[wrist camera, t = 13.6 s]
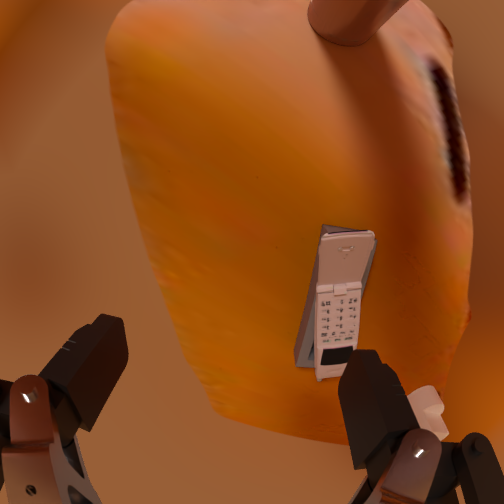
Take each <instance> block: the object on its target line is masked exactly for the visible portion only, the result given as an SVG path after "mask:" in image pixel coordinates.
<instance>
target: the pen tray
mask: <svg viewBox="0 0 504 504" xmlns="http://www.w3.org/2000/svg"><path fill="white" fill-rule="evenodd" d="M340 231H355V229H349V228H343V227H337V226H330V225H324V224H322V229H321V235H320V240H319V245H321V238H322V236H323V235H324V234H326V233H331V232H340ZM374 241H375V243H374V247H373V249H372V250H371V252H370V256H369V259H368V262H367V265H366V268H365V271H364V274H363V277H362V280H361V284H362V288H361V298H362V294H363V291H364V288H365V285H366V281H367V278H368V274H369V271H370V267H371V264H372V260H373V256H374V252H375V248H376V244H377V240H376V239H375V238H374ZM319 245H318V250H317V255H316V259H315V264H314V269H313V273H312V278H311V283H310V287H309V291H308V296H307V300H306V304H305V308H304V312H303V317H302V321H301V325H300V328H299V332H298V336H297V340H296V344H295V348H294V356H295V365H296V367H311V368H315V366H314V327H315V301H316V284H317V282H318V272H319V255H320V254H318V252H319Z"/></svg>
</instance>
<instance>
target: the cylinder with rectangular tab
mask: <svg viewBox="0 0 504 504" xmlns="http://www.w3.org/2000/svg"><path fill="white" fill-rule="evenodd" d="M407 398H408V400H409V402H410V405H411V407H412V409H413V412H414V414H415V416H416V419H417V421H418V423H419V426H420V428H422V429H427V430H429V431H431V432H433V433H434V434H435V435H436V436H437V437H438V438H439V440H440V441H441V440H442V439H443V438H445V437H446V436H447V435H448V434H449V432H448V430H447V428H446V426H445V424H444V422H443V419H442V417H441V414H442V412H443V410H444V405H443V403H442V401H441V399H440V397H439V395H438V393H437V391H436V390H435V388H434V387H433V386H430V385H428V386H423V387H421V388H419V389H417V390H415V391H413V392H412V393H411V394H409V395H408V396H407Z"/></svg>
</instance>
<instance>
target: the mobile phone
mask: <svg viewBox="0 0 504 504" xmlns="http://www.w3.org/2000/svg"><path fill="white" fill-rule="evenodd" d="M374 237H375V234H374V232H372V231H370V230H355V231H340V232H331V233H326V234H324V235H323V236H322V238H321V245H319V252H318V254H320V255H319V272H318V282H317V284H316V301H315V327H314V366H315V374H316V377H317V381H322V378H329V377H337V376H342V374H343V372H344V369H345V367H346V365H347V362H348V360H349V358H350V355H351V353H352V351H353V350H355V349H356V348H357V341H358V332H359V321H360V304H361V288H362V284H361V280H362V277H363V274H364V271H365V268H366V265H367V262H368V259H369V256H370V252H371V250H372V249H373V247H374V243H375V241H374Z"/></svg>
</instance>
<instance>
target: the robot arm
mask: <svg viewBox="0 0 504 504" xmlns="http://www.w3.org/2000/svg"><path fill="white" fill-rule="evenodd" d="M407 1H409V0H311V1H310V4H309V8H308V14H307V15H308V20H309V22H310V24H311V26H312V27H313V29H314V30H315V31H316V32H317V33H318V34H319V35H320V36H322V37H323V38H325V39H326V40H328V41H331V42H333V43H336V44H339V45H344V46H356V45H360V44H362V43H364V42H366V41H367V40H368V39H369V38H370V37H371V36H372V35H373V34H374V33H375V32H376V31H377V30H378V29H379V28H380V27H381V26H382V25H383V24H384V23H385V22H386V21H388V20H389V19H390V18H391V17H392V16H393V15H394V14H395V13H396V12H397V11H398V10H399V9H400V8H401V7H402V6H403V5H404V4H405V3H406V2H407ZM128 354H129V353H128V346H127V341H126V335H125V329H124V323H123V320H122V319H121V318H119V317H115V316H111V315H106V314H100V315H99V316H98V317H97V318H96V320H95V321H94V322H93V323H92V324H91V325H90V324H87V325H85V326H83V327H81V328H80V329H78V330H76V331H75V332H74V334H73V335H72V336H71V337H70V338H69V341H67V342H66V343H65V344H64V345H63V346H62V348H61V349H60V350H59V351H58V352H57V353H56V354H55V356H54V357H53V358H52V359H51V360H50V361H49V363H48V364H47V365H46V366H45V367H44V369H43V370H42V371H41V372H40V374H39V375H38V376H37V375H24V376H22V377H20V378H18V379H17V380H16V381H15V382H10V381H6V380H1V379H0V490H1V488H2V486H3V483H4V481H5V486H6V492H7V497H8V502H9V504H102V502H101V500H100V498H99V497H98V495H97V493H96V491H95V490H94V488H93V486H92V485H91V483H90V480H89V477H88V474H87V471H86V468H85V465H84V461H83V458H82V455H81V451H80V447H79V444H78V439H77V436H76V432H77V430H78V428H81V429H84V430H86V431H88V432H90V431H91V429H92V427H93V425H94V424H95V422H96V420H97V418H98V416H99V414H100V412H101V410H102V408H103V407H104V405H105V403H106V401H107V399H108V397H109V396H110V394H111V392H112V390H113V388H114V387H115V385H116V383H117V381H118V379H119V378H120V376H121V374H122V372H123V371H124V369H125V367H126V365H127V362H128ZM338 396H339V400H340V404H341V409H342V413H343V418H344V422H345V427H346V431H347V436H348V440H349V445H350V450H351V455H352V460H353V465H354V469H355V470H357V469H365V468H366V469H367V474H368V475H367V476H366V477H365V478H364V480H363V481H362V483H361V484H360V486H359V488H358V489H357V491H356V492H355V494H354V495H353V497H352V499H351V500H350V502H349V503H348V504H459V501H458V498H457V494H456V490H455V488H456V487H458V486H459V485H461V488H462V492H463V496H464V499H465V503H466V504H504V475H503V473H502V470H501V467H500V465H499V462H498V460H497V457H496V455H495V452H494V450H493V448H492V445H491V443H490V441H489V440H488V439H487V438H486V437H485V436H484V435H482V434H480V433H476V432H475V433H470V434H468V435H467V436H466V437H465V438H464V439H463V440H462V441H461V442H460V443H454V442H440V440H439V438H438V437H437V436H436V435H435V434H434V433H433V432H431V431H429V430H427V429H422V428H420V426H419V423H418V421H417V419H416V416H415V414H414V412H413V409H412V407H411V405H410V402H409V400H408V398H407V396H406V395H405V391H404V389H403V387H402V386H401V383H400V381H399V379H398V376H397V374H396V373H395V372H394V371H393V370H392V369H391V368H390V367H389V366H388V365H387V364H382V362H381V360H380V358H379V356H378V354H377V352H376V351H375V350H361V349H355V350H353V351H352V353H351V355H350V358H349V360H348V362H347V365H346V367H345V369H344V372H343V374H342V376H341V379H340V381H339V386H338Z"/></svg>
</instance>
